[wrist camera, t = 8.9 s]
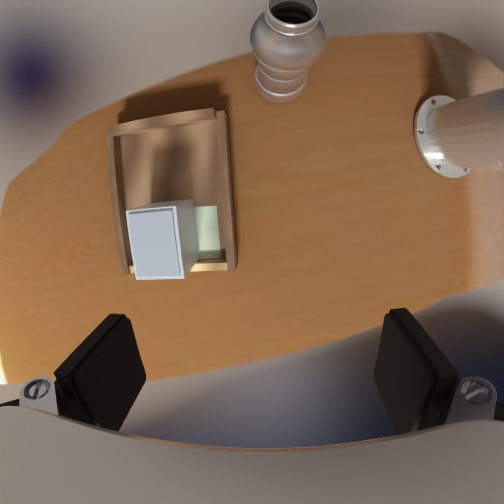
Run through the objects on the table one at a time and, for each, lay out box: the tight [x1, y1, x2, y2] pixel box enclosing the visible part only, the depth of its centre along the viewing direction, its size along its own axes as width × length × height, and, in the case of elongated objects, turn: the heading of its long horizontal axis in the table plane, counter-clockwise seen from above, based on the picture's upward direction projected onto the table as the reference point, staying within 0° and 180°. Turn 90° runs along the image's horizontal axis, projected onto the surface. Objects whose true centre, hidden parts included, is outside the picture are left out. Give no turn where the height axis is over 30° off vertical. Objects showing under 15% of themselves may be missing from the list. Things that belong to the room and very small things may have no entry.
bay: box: [106, 108, 238, 274], centre depth 35 cm, size 16×20×5 cm
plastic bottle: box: [250, 0, 326, 103], centre depth 24 cm, size 6×7×20 cm
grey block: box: [126, 199, 199, 280], centre depth 34 cm, size 6×8×8 cm
